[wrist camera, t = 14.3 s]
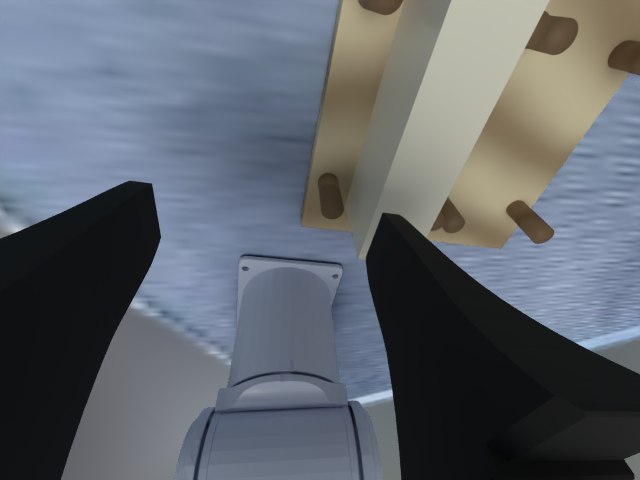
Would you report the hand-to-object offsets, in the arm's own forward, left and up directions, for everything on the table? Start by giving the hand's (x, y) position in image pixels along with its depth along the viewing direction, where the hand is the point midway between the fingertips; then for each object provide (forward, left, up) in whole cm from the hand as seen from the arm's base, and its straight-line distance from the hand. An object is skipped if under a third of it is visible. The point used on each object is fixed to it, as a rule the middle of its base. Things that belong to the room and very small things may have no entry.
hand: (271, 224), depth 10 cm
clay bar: (+2, -6, -8) cm, 10 cm away
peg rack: (+2, -10, -9) cm, 14 cm away
